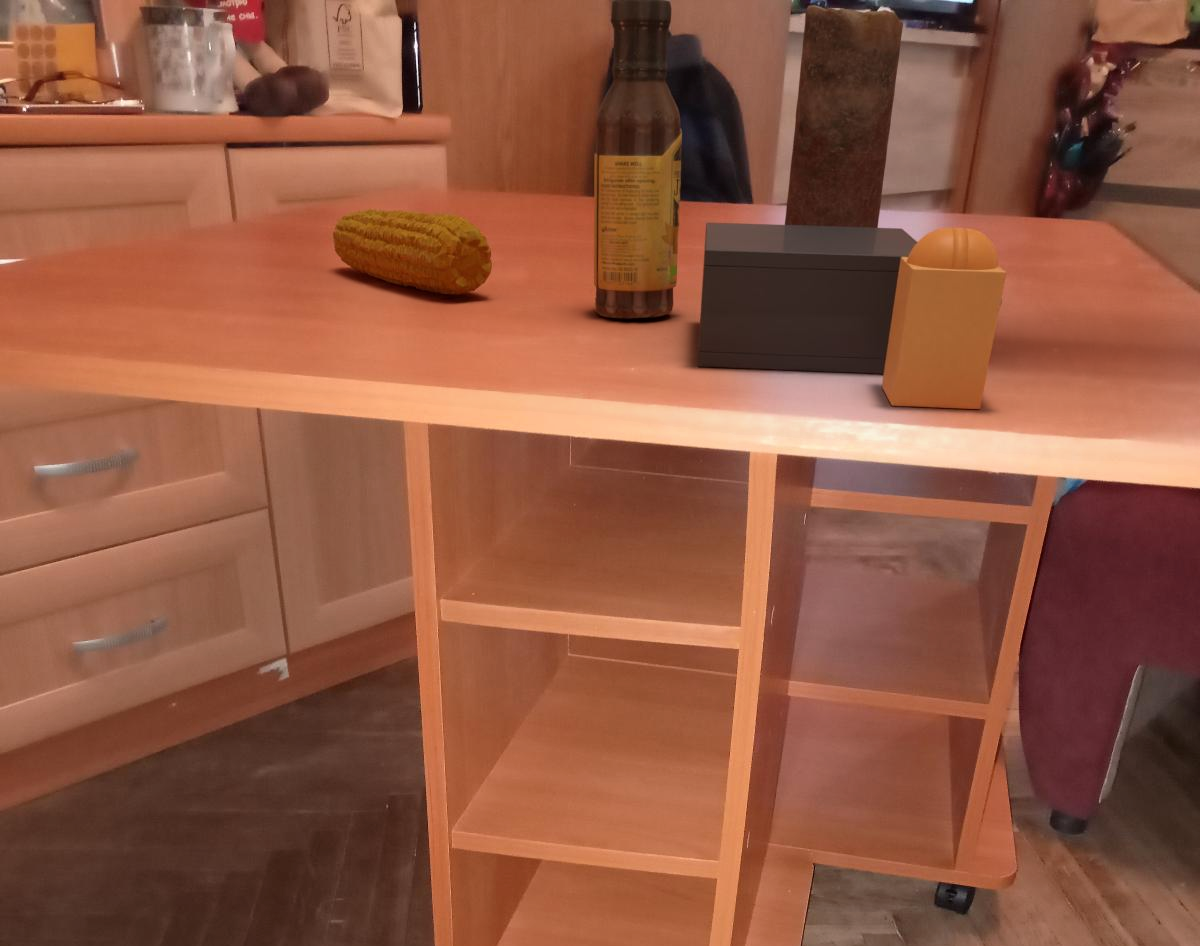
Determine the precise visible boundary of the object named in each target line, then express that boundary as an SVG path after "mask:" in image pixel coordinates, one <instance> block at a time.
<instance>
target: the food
mask: <svg viewBox="0 0 1200 946" xmlns="http://www.w3.org/2000/svg"><path fill="white" fill-rule="evenodd" d="M332 237H333V245H334V247H333V248H334V251H335V253H336V255H337V256H338V257H339V258H340V260H341V261H342V262H343V263H344V264H346V265H347V266H349V267H351V269H355V270H357V271H358V272H361V274H368V276H371V277H372V278H374V279H375V278H377V279H380V280H383V281H384V282H386V283H388V284H394V285H399V286H403V287H408V286H410V287H413V288H416V289H417V290H420V291H428V292H429V293H435V294H438V293H439V294H441V295H459V296H460V295H461V294H468V293H471V292H474V291H476V290H477V289H479V288H480V287H481V286H482V285H483V284H485V283H486V281H487V280H488V278H489V276H491V274H492V268H493V262H492V259H491V258H492V249H491V247H490V246H489V243H488V238H487V237H486V236H485V235H484V234H483V233H482V232H481V230H480V228H478V227H477V226H476V225H475V224H474V223H472V222H470V221H469V220H466V219H465V218H462V217H460V216H459V215H457V214H456V213H454V214H450V213H448V214H446V213H439V214H438V213H434V212H433V213H429V214H428V213H424V212H419V211H416V212H413V211H409V210H407V211H404V210H396V209H394V210H389V211H388V210H382V209H376V208H374V209H372V208H369V209H365V210H358V211H356V212H353V213H352V212H350V213H348V214H346V215H343V216H342V217H341V218H340V219H338V220H337V223H336V224H335V227H334V230H333V231H332Z"/></svg>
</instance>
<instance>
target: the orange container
mask: <svg viewBox="0 0 1200 946" xmlns="http://www.w3.org/2000/svg"><path fill="white" fill-rule="evenodd" d="M1006 277H1007V271H1005V270H1004V269H1003V268H1001V267H1000V266H999V257H998V253H997V250H996V248H995V246H994V244H993V242H992V241H991V240H990V239H989V238H988V236H987V235H985V234H984V233H982V232H981V231H979V230H976V229H974V228H968V227H940V228H938V229H934V230H932V231H930V232H928V233H926V234H925V235H924V236H922V237H921V238H920V239H919V240H918V241H917V243H916V245H915V246H914V247H913V249H912V250H911V252H910V254H909V256H908V257H901V260H900V266H899V273H898V280H897V287H896V294H895V300H894V307H893V314H892V321H891V328H890V334H889V341H888V348H887V355H886V361H885V368H884V374H882V375H883V376H882V383H881V388H882V390H883V391H884V394H885V395H886V398H887V400H888V401H889V403H890V405H891V406H893V407H894V406H895V407H915V408H939V409H941V408H943V409H964V410H968V409H969V410H980V409H981V407H982V401H983V396H984V390H985V385H986V380H987V375H988V370H989V365H990V359H991V355H992V349H993V344H994V339H995V334H996V328H997V324H998V319H999V313H1000V308H1001V307H1000V303H1001V298H1002V299H1003V294H1004V293H1003V292H1004V287H1005V283H1006V282H1005V281H1006Z"/></svg>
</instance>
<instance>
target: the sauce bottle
mask: <svg viewBox="0 0 1200 946" xmlns="http://www.w3.org/2000/svg"><path fill="white" fill-rule="evenodd" d="M671 21H672V3H671V1H670V0H612V1H611V10H610V23H611V26H612V29H613V65H612V67H611V72H612V78H613V79H612V83H611V85H610V86H609V88H608V90H607V92H606V94H605V96H604V97H603V100H602V102H601V104H600V106H599V108H598V111H597V115H596V121H595V152H594V168H593V169H594V178H593V179H594V183H593V184H594V185H593V186H594V187H593V189H594V190H593V191H594V192H593V194H594V195H593V196H594V197H593V285H594V287H595V299H594V301H595V303H594V305H595V310H596V313H597V314H598V315H599V316H601V317H604V318H612V319H621V320H622V319H623V320H624V319H626V320H627V319H645V318H646V319H647V318H648V319H649V318H658V317H664V316H666V315H669V314H670V313H671V312H672V310H673V308H674V288H675V287H676V286H677V281H678V255H679V254H678V252H679V251H678V250H679V228H680V204H681V203H680V202H681V184H682V180H681V178H682V177H681V175H682V145H683V130H682V128H681V117H680V116H681V115H680V111H679V108H678V106H677V103H676V101H675V98H674V97H673V95H672V93H671V90H670V88H669V86H668V84H667V82H666V78H667V75H668V63H667V62H668V35H669V34H668V33H669V28H670V26H671Z"/></svg>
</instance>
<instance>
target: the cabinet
mask: <svg viewBox="0 0 1200 946" xmlns="http://www.w3.org/2000/svg"><path fill="white" fill-rule="evenodd" d="M917 242H918V241H917V240H916V239H915V238H914V237H912V236H911V235H910V234H909V233H908V232H906V231H905V230H904V229H903V228H896V227H895V228H894V227H878V228H868V227H836V226H804V225H785V224H773V223H772V224H771V223H770V224H769V223H768V224H767V223H738V222H737V223H736V222H734V223H733V222H706V223H705V235H704V253H703V267H702V268H703V269H702V283H701V284H702V285H701V299H700V317H699V332H698V333H699V334H698V335H699V336H698V352H697V355H698V356H697V357H698V358H697V367H701V368H704V367H705V368H722V369H723V368H727V369H748V370H749V369H750V370H751V369H755V370H777V371H779V370H780V371H800V372H801V371H802V372H804V371H805V372H827V373H830V372H831V373H854V374H855V373H856V374H878V375H879V374H882V375H884V368H885V361H886V355H887V348H888V341H889V334H890V328H891V321H892V314H893V307H894V300H895V294H896V287H897V280H898V273H899V266H900V260H901V257H908V256H909V254H910V252H911V250H912V249H913V247H914V246H915V245H916V243H917Z"/></svg>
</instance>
